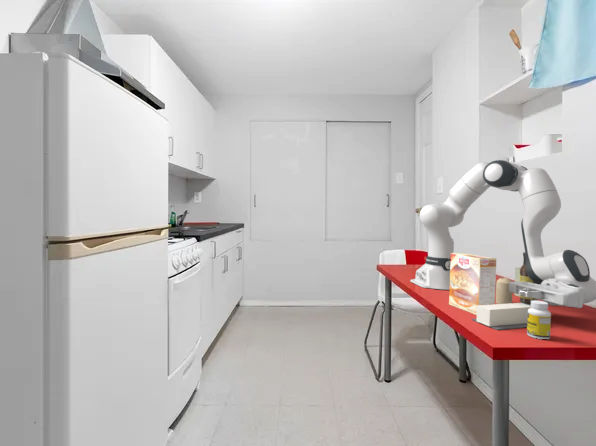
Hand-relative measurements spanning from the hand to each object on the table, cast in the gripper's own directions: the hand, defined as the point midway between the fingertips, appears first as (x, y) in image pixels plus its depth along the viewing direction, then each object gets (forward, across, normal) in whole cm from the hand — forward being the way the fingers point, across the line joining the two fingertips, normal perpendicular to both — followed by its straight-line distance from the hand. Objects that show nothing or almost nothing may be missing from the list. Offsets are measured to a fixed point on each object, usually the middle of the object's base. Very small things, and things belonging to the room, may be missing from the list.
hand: (522, 293), depth 112 cm
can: (-36, -29, +9) cm, 47 cm away
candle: (-14, -20, +9) cm, 26 cm away
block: (-3, 0, +6) cm, 7 cm away
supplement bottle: (+8, +12, +9) cm, 17 cm away
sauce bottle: (-25, -19, +9) cm, 33 cm away
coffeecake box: (+5, -16, +9) cm, 19 cm away
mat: (+7, 0, +9) cm, 11 cm away
